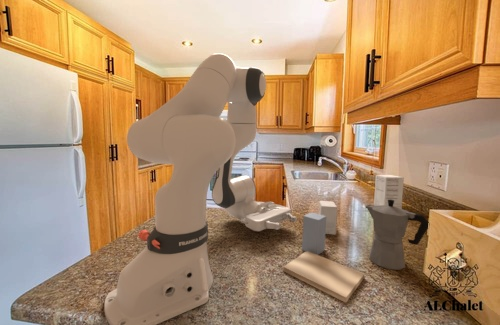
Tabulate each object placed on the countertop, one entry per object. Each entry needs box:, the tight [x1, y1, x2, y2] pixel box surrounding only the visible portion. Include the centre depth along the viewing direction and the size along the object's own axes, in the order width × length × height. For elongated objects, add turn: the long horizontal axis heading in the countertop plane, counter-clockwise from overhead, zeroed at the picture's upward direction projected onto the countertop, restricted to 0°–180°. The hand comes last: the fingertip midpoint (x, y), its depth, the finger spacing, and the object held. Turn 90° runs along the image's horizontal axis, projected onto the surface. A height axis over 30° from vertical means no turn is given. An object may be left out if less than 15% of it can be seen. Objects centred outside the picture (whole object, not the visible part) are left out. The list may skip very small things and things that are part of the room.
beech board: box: [282, 251, 365, 303], centre depth 56 cm, size 12×16×1 cm
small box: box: [318, 200, 338, 236], centre depth 84 cm, size 8×6×10 cm
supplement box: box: [373, 174, 405, 209], centre depth 115 cm, size 10×9×17 cm
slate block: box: [301, 212, 326, 256], centre depth 68 cm, size 5×5×11 cm
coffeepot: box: [365, 200, 430, 271], centre depth 61 cm, size 15×9×18 cm, turn 39°
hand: (287, 223), depth 75 cm, fingers open, 8 cm apart
